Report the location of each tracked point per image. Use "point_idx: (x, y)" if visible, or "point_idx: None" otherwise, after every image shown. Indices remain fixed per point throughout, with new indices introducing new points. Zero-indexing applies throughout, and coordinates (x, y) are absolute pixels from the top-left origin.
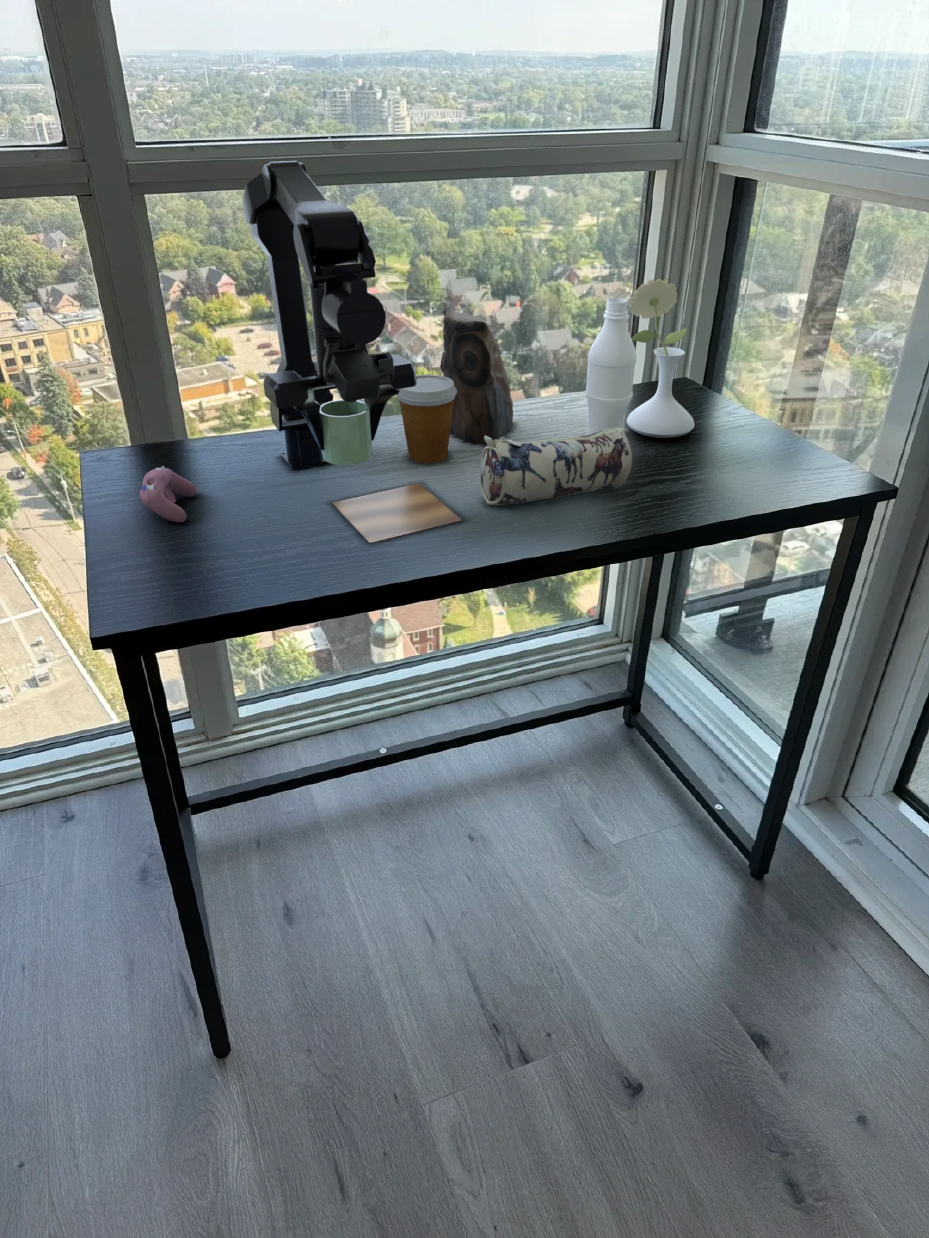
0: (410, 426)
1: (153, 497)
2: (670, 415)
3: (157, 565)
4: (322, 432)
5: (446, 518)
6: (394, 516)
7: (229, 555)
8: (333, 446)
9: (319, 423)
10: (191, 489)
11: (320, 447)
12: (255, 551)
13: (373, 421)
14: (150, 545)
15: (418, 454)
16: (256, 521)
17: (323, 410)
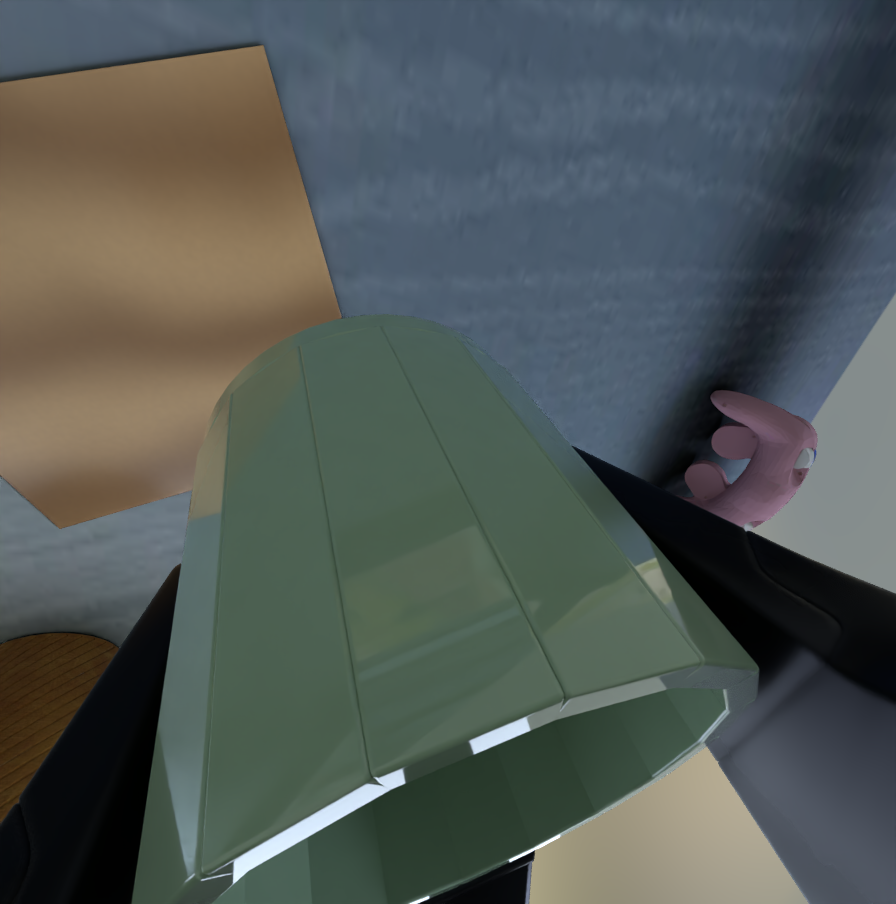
0: None
1: (804, 429)
2: None
3: (873, 179)
4: (645, 525)
5: None
6: (141, 295)
7: (730, 171)
8: (540, 417)
9: (746, 583)
10: None
11: (584, 453)
12: (666, 170)
13: (129, 727)
14: (814, 299)
15: (75, 659)
16: (586, 367)
17: (602, 751)
